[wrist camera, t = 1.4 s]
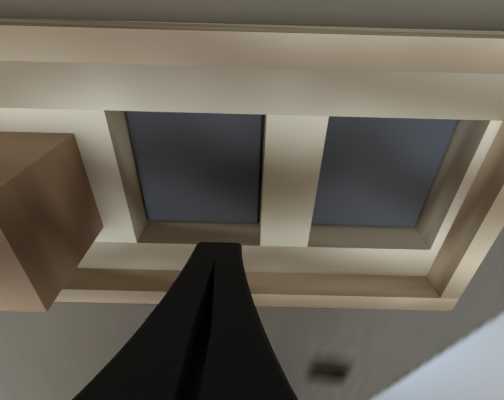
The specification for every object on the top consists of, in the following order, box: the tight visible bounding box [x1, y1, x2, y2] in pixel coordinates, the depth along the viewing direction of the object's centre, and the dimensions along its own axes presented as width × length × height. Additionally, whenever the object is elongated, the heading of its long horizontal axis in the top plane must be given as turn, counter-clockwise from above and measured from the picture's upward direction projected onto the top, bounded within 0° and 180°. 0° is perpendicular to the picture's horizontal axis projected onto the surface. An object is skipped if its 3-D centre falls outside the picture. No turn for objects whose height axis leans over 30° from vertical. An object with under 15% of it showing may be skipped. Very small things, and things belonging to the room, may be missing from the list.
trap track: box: [0, 18, 504, 311], centre depth 14 cm, size 13×32×4 cm, turn 89°
